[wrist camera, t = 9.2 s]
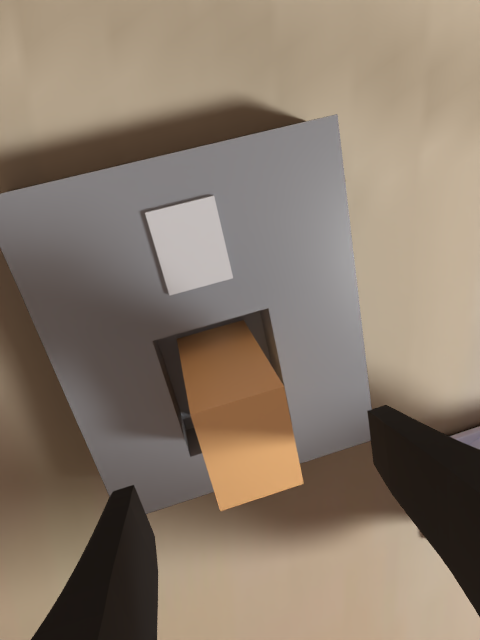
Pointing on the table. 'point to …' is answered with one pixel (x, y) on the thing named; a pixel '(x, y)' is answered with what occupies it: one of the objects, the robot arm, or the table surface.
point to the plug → (239, 415)
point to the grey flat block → (194, 294)
